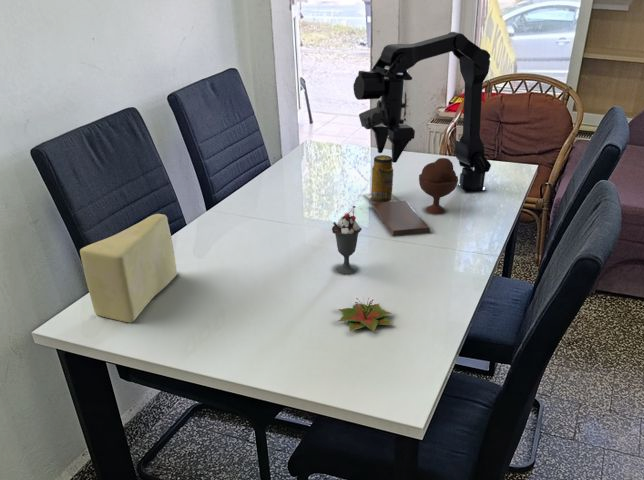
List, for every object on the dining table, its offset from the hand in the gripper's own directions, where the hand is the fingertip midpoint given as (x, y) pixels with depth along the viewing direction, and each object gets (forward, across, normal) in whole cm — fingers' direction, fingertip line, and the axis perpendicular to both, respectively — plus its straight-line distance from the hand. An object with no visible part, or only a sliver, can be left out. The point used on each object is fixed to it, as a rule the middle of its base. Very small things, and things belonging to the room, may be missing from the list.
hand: (387, 157), depth 179 cm
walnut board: (+13, +12, -1) cm, 18 cm away
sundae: (+15, +35, -26) cm, 46 cm away
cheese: (+17, +32, -70) cm, 79 cm away
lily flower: (+15, +58, -30) cm, 67 cm away
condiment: (+14, -4, +1) cm, 14 cm away
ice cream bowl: (+13, +10, +12) cm, 20 cm away
